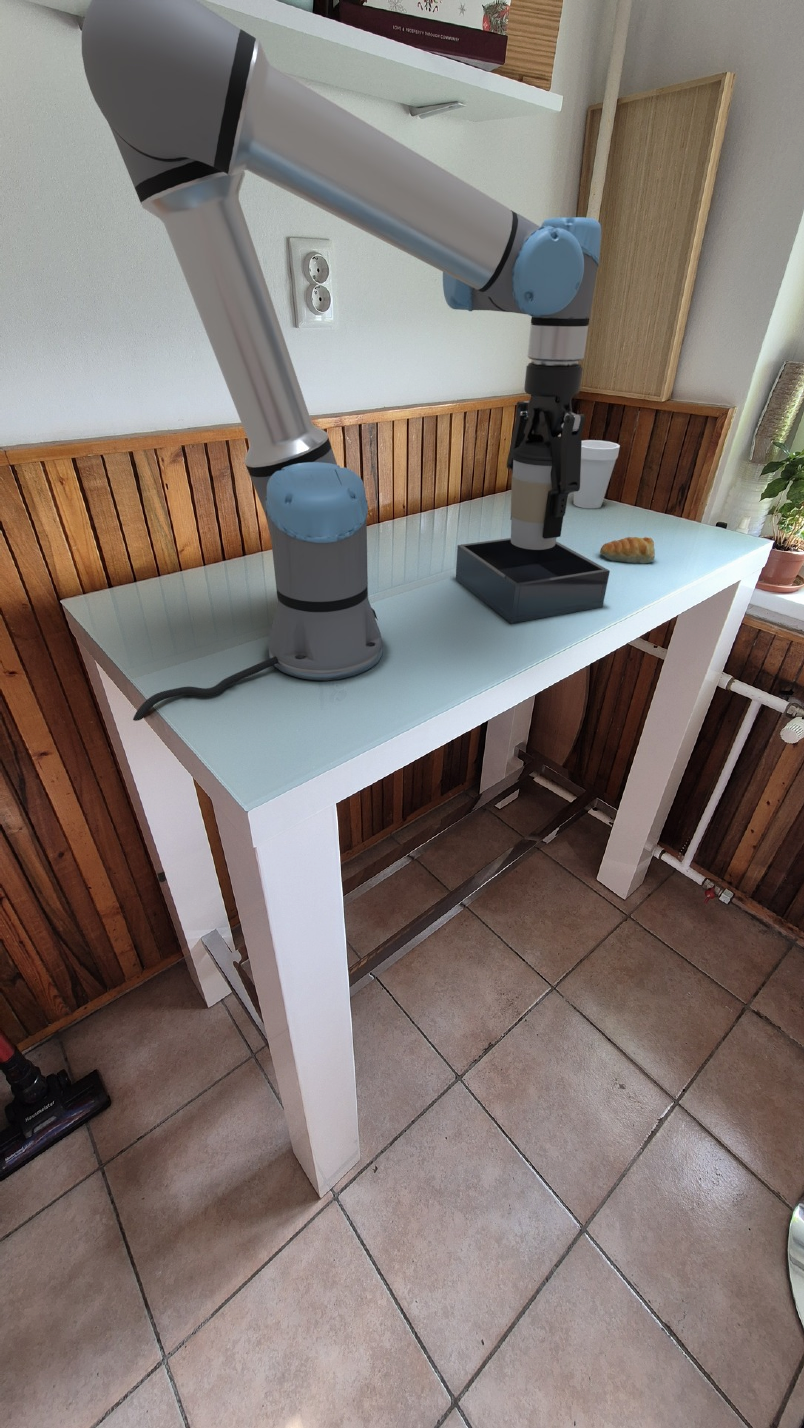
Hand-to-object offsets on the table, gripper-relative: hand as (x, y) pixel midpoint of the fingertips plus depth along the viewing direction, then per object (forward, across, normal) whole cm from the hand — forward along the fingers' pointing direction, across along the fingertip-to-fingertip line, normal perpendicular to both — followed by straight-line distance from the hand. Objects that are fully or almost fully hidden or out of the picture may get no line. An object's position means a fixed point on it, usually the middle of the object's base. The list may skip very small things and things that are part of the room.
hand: (534, 527), depth 100 cm
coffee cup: (+3, 0, 0) cm, 3 cm away
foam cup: (+11, +39, -40) cm, 57 cm away
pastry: (+11, +7, -26) cm, 29 cm away
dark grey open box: (+11, 0, 0) cm, 11 cm away
